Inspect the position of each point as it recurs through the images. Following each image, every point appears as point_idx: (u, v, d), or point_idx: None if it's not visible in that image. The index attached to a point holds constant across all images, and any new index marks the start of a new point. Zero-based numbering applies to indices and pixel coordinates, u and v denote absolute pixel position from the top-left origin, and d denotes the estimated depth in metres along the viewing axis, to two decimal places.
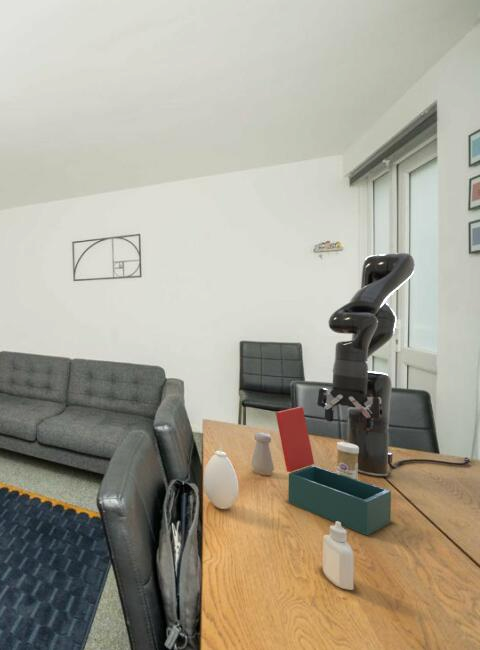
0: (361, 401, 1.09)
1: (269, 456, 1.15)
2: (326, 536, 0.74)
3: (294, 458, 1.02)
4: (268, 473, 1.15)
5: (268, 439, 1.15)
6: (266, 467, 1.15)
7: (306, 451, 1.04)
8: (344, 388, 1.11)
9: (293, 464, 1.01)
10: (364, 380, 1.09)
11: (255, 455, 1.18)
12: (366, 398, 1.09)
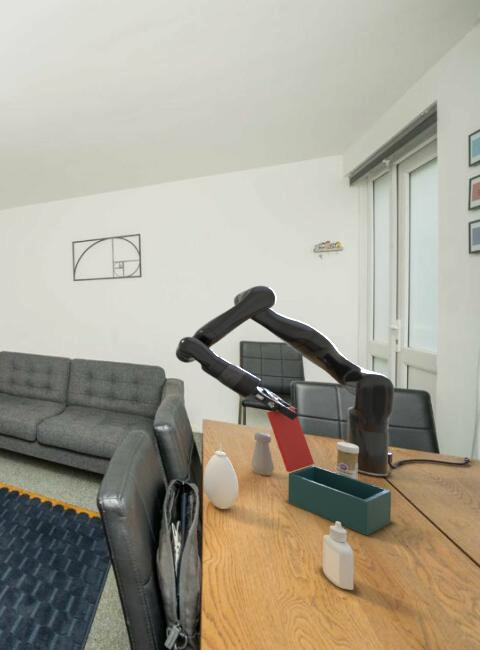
0: None
1: (269, 456, 1.15)
2: (326, 536, 0.74)
3: (292, 457, 1.02)
4: (268, 473, 1.15)
5: (268, 439, 1.15)
6: (266, 467, 1.15)
7: (304, 451, 1.05)
8: None
9: (292, 464, 1.01)
10: (238, 385, 1.12)
11: (255, 455, 1.18)
12: None
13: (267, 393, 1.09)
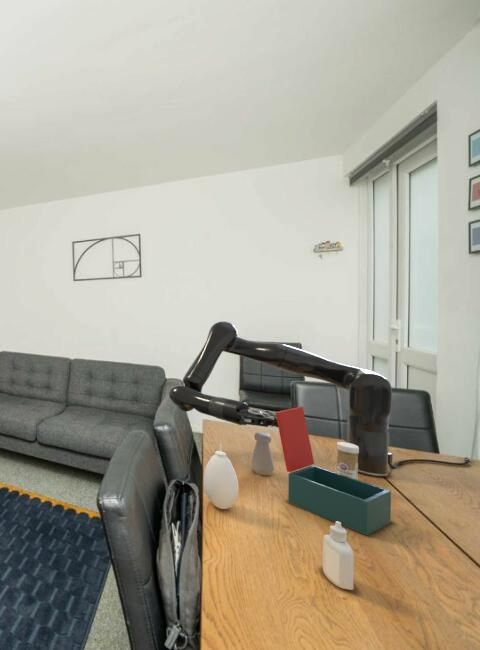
0: None
1: (269, 456, 1.15)
2: (326, 536, 0.74)
3: (294, 458, 1.02)
4: (268, 473, 1.15)
5: (268, 439, 1.15)
6: (266, 467, 1.15)
7: (306, 451, 1.04)
8: (241, 424, 1.17)
9: (293, 464, 1.01)
10: (225, 415, 1.18)
11: (255, 455, 1.18)
12: (242, 419, 1.13)
13: (253, 413, 1.12)
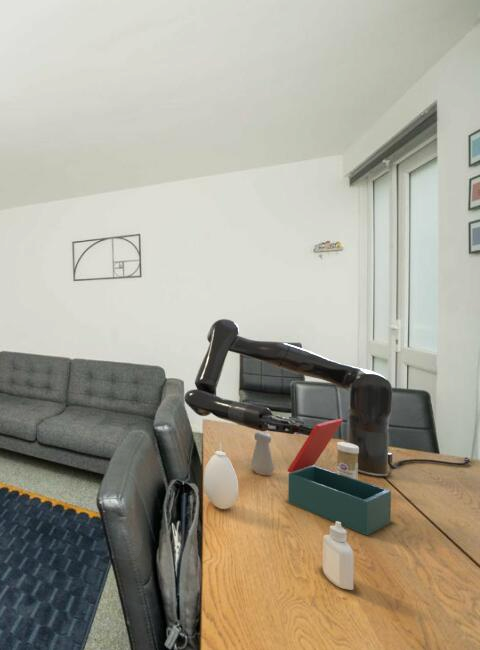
0: None
1: (269, 456, 1.15)
2: (326, 536, 0.74)
3: (302, 462, 1.00)
4: (268, 473, 1.15)
5: (268, 439, 1.15)
6: (266, 467, 1.15)
7: (316, 455, 1.02)
8: None
9: (297, 466, 1.00)
10: (246, 421, 1.12)
11: (255, 455, 1.18)
12: (265, 426, 1.07)
13: (277, 419, 1.06)
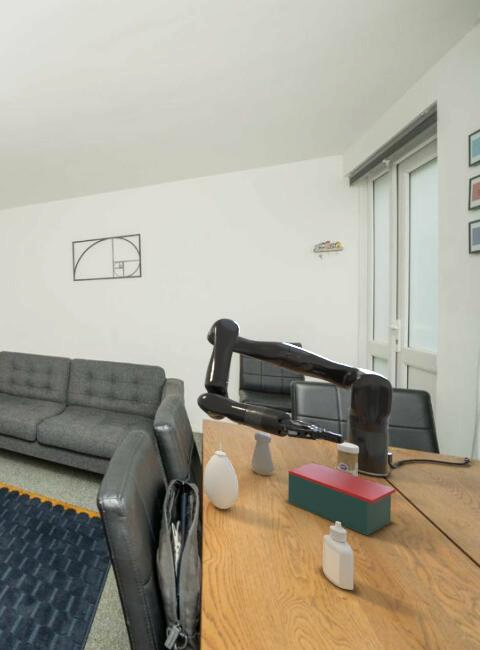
0: None
1: (269, 456, 1.15)
2: (326, 536, 0.74)
3: None
4: (268, 473, 1.15)
5: (268, 439, 1.15)
6: (266, 467, 1.15)
7: None
8: (283, 436, 1.06)
9: None
10: (264, 425, 1.08)
11: (255, 455, 1.18)
12: (285, 431, 1.03)
13: (297, 424, 1.02)
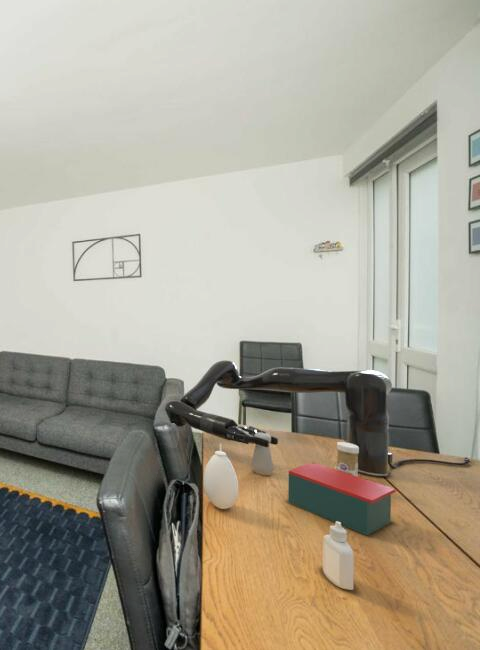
0: None
1: (269, 456, 1.15)
2: (326, 536, 0.74)
3: None
4: (268, 473, 1.15)
5: (268, 439, 1.15)
6: (266, 467, 1.15)
7: None
8: None
9: None
10: (214, 431, 1.28)
11: (255, 455, 1.18)
12: None
13: (238, 430, 1.22)
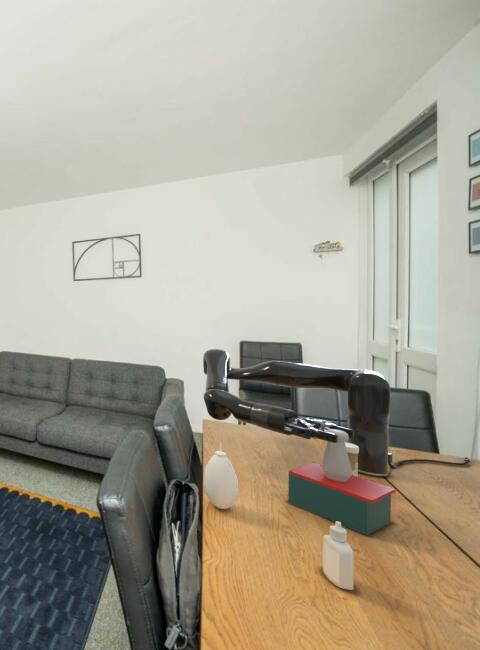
0: None
1: (346, 458, 0.93)
2: (326, 536, 0.74)
3: None
4: (345, 479, 0.93)
5: (345, 437, 0.93)
6: (343, 472, 0.93)
7: None
8: (289, 434, 1.05)
9: None
10: (270, 424, 1.06)
11: (327, 457, 0.95)
12: None
13: (300, 422, 1.00)
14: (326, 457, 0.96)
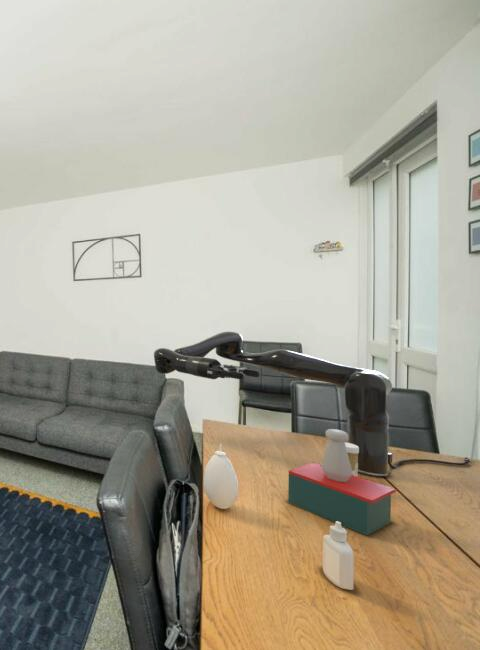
0: (218, 374, 1.26)
1: (346, 458, 0.93)
2: (326, 536, 0.74)
3: None
4: (345, 479, 0.93)
5: (345, 437, 0.93)
6: (343, 472, 0.93)
7: None
8: None
9: None
10: (199, 371, 1.32)
11: (327, 457, 0.95)
12: None
13: (220, 367, 1.26)
14: (326, 457, 0.96)
